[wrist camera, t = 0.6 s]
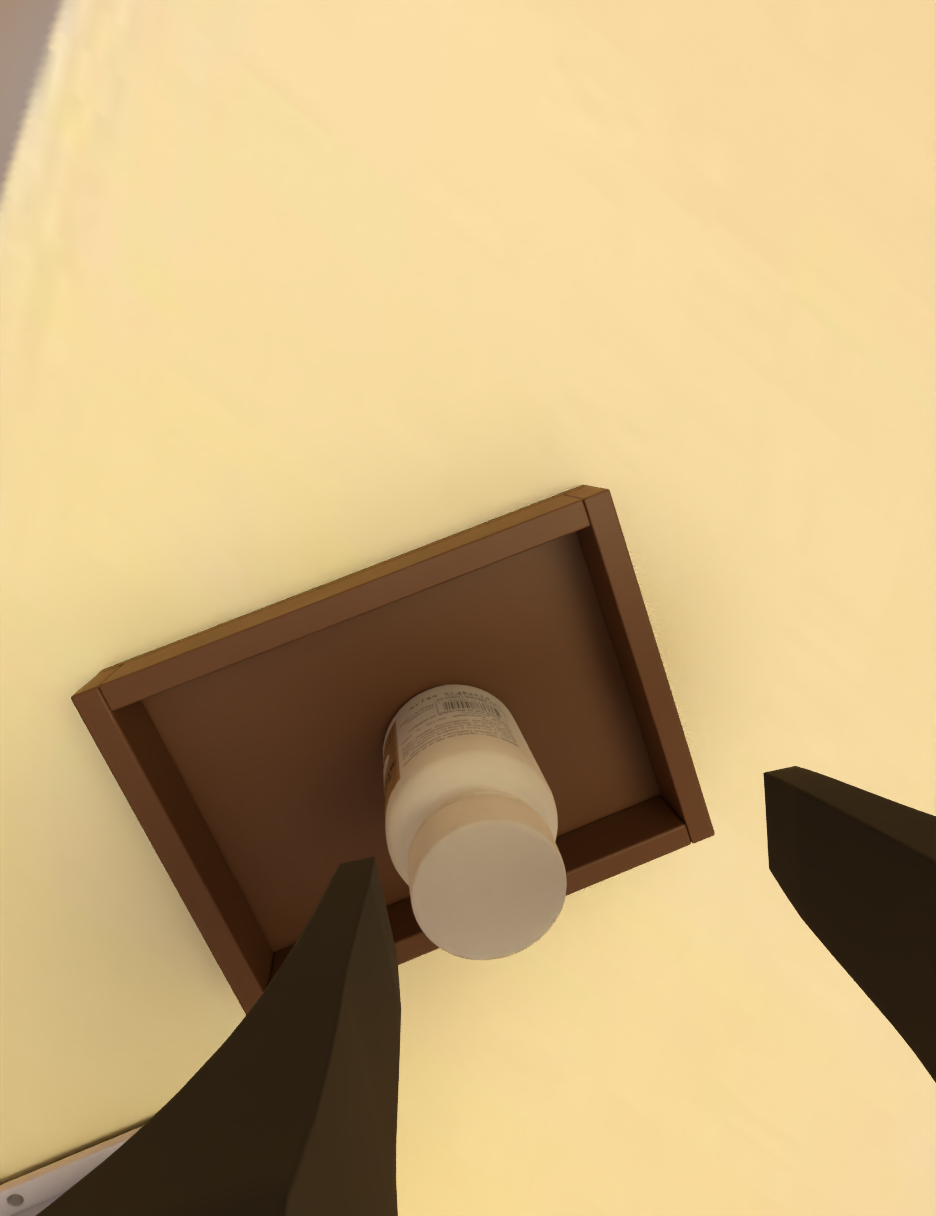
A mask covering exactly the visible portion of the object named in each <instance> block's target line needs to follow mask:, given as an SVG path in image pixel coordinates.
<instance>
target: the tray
mask: <svg viewBox="0 0 936 1216" xmlns="http://www.w3.org/2000/svg"><path fill="white" fill-rule="evenodd" d="M452 684H456V685H467V686H472V687H476V688H479V689H481V690H484V691H486V692H488V693H490V694H491V695H493V696H494V697H496V698H497V699H498V700H500V701H501V702H502V703H503V704H504V705H505V706H506V708H507V709H508V710H509V712H510V713H511V714H512V716H513V718H514V720H515V722H516V723H517V725H518V728H519V729H520V731H521V733H522V735H523V737H524V739H525V741H526V743H527V745H528V747H529V749H530V751H531V753H532V755H533V757H534V759H535V761H536V762H537V764H538V766H539V768H540V770H541V772H542V774H543V776H544V778H545V780H546V782H547V784H548V786H549V788H550V790H551V792H552V795H553V798H554V801H555V804H556V809H557V816H558V828H557V836H556V841H555V843H556V845H557V847H558V850H559V852H560V854H561V857H562V860H563V862H564V866H565V871H566V879H567V888H566V895H569V894H571V893H574V892H576V891H579V890H581V889H583V888H586V887H588V886H591V885H593V884H596V883H598V882H600V881H603V880H605V879H608V878H610V877H612V876H615V875H617V874H620V873H622V872H625V871H627V870H629V869H632V868H634V867H637V866H639V865H642V864H644V863H646V862H649V861H651V860H654V859H656V858H659V857H661V856H663V855H666V854H668V853H671V852H673V851H675V850H678V849H680V848H683V847H685V846H688V845H690V844H691V842H692V843H696V842H698V841H701V840H703V839H706V838H708V837H711V836H713V835H714V834H715V833H714V830H713V826H712V823H711V820H710V817H709V813H708V810H707V807H706V804H705V800H704V797H703V794H702V791H701V787H700V784H699V781H698V777H697V774H696V771H695V768H694V764H693V761H692V758H691V755H690V751H689V748H688V745H687V742H686V738H685V735H684V732H683V729H682V725H681V722H680V719H679V715H678V712H677V709H676V706H675V702H674V699H673V696H672V693H671V689H670V686H669V683H668V680H667V676H666V673H665V670H664V667H663V663H662V660H661V657H660V653H659V650H658V647H657V644H656V640H655V637H654V634H653V631H652V627H651V624H650V621H649V618H648V614H647V611H646V608H645V605H644V601H643V598H642V595H641V591H640V588H639V585H638V582H637V578H636V575H635V572H634V569H633V565H632V562H631V559H630V556H629V552H628V549H627V546H626V542H625V539H624V536H623V533H622V529H621V526H620V523H619V520H618V516H617V513H616V510H615V507H614V503H613V500H612V497H611V494H610V491H609V489H604V488H598V487H592V486H587V485H582V486H579V487H577V488H574V489H571V490H569V491H566V492H564V493H561V494H558V495H556V496H553V497H551V498H548V499H545V500H543V501H540V502H538V503H535V504H532V505H530V506H527V507H525V508H522V509H519V510H517V511H514V512H512V513H509V514H506V515H504V516H501V517H499V518H496V519H493V520H491V521H488V522H486V523H483V524H480V525H478V526H475V527H473V528H470V529H467V530H465V531H462V532H460V533H457V534H454V535H452V536H449V537H447V538H444V539H441V540H439V541H436V542H434V543H431V544H428V545H426V546H423V547H421V548H418V549H415V550H413V551H410V552H408V553H405V554H402V555H400V556H397V557H395V558H392V559H389V560H387V561H384V562H382V563H379V564H377V565H374V566H371V567H369V568H366V569H364V570H361V571H358V572H356V573H353V574H351V575H348V576H345V577H343V578H340V579H338V580H335V581H332V582H330V583H327V584H325V585H322V586H319V587H317V588H314V589H312V590H309V591H306V592H304V593H301V594H299V595H296V596H293V597H291V598H288V599H286V600H283V601H280V602H278V603H275V604H273V605H270V606H267V607H265V608H262V609H260V610H257V611H254V612H252V613H249V614H247V615H244V616H241V617H239V618H236V619H234V620H231V621H228V622H226V623H223V624H221V625H218V626H215V627H213V628H210V629H208V630H205V631H202V632H200V633H197V634H195V635H192V636H189V637H187V638H184V639H182V640H179V641H176V642H174V643H171V644H169V645H166V646H163V647H161V648H158V649H156V650H153V651H150V652H148V653H145V654H143V655H140V656H137V657H135V658H132V659H130V660H127V661H124V662H122V663H119V664H117V665H114V666H112V667H109V668H106V669H104V670H102V671H101V672H100V673H99V674H98V675H97V676H96V677H94V678H93V679H92V680H91V681H90V682H88V683H87V684H86V685H85V686H83V687H82V688H81V689H80V690H79V691H77V692H76V693H75V694H74V695H73V696H72V697H71V700H72V701H73V703H74V705H75V707H76V709H77V710H78V712H79V714H80V716H81V718H82V719H83V721H84V723H85V725H86V727H87V728H88V730H89V732H90V734H91V736H92V737H93V739H94V741H95V743H96V745H97V747H98V748H99V750H100V752H101V754H102V756H103V757H104V759H105V761H106V763H107V765H108V766H109V768H110V770H111V772H112V774H113V775H114V777H115V779H116V781H117V783H118V784H119V786H120V788H121V790H122V792H123V793H124V795H125V797H126V799H127V801H128V802H129V804H130V806H131V808H132V810H133V811H134V813H135V815H136V817H137V819H138V820H139V822H140V824H141V826H142V828H143V829H144V831H145V833H146V835H147V837H148V838H149V840H150V842H151V844H152V846H153V847H154V849H155V851H156V853H157V855H158V857H159V858H160V860H161V862H162V864H163V866H164V867H165V869H166V871H167V873H168V875H169V876H170V878H171V880H172V882H173V884H174V885H175V887H176V889H177V891H178V893H179V894H180V896H181V898H182V900H183V902H184V903H185V905H186V907H187V909H188V911H189V912H190V914H191V916H192V918H193V920H194V921H195V923H196V925H197V927H198V929H199V930H200V932H201V934H202V936H203V938H204V939H205V941H206V943H207V945H208V947H209V948H210V950H211V952H212V954H213V956H214V957H215V959H216V961H217V963H218V965H219V967H220V968H221V970H222V972H223V974H224V976H225V977H226V979H227V981H228V983H229V985H230V986H231V988H232V990H233V992H234V994H235V995H236V997H237V999H238V1001H239V1003H240V1004H241V1006H242V1008H243V1010H244V1012H245V1013H246V1015H247V1014H248V1013H249V1011H250V1010H251V1009H252V1007H253V1006H254V1005H255V1003H256V1002H257V1000H258V999H259V998H260V996H261V995H262V994H263V992H264V991H265V989H266V988H267V986H268V985H269V983H270V982H271V980H272V979H273V977H274V976H275V974H276V973H277V971H278V970H279V968H280V967H281V965H282V964H283V962H284V961H285V959H286V958H287V956H288V955H289V953H290V951H291V950H292V948H293V947H294V945H295V943H296V942H297V940H298V938H299V936H300V935H301V933H302V931H303V930H304V928H305V926H306V925H307V923H308V921H309V919H310V918H311V916H312V914H313V912H314V910H315V909H316V907H317V905H318V903H319V901H320V899H321V898H322V896H323V894H324V892H325V890H326V888H327V886H328V884H329V882H330V880H331V878H332V876H333V874H334V872H335V870H336V869H337V868H338V866H339V865H340V864H341V863H346V862H351V861H355V860H360V859H364V858H369V857H374V856H375V860H376V865H377V869H378V873H379V878H380V882H381V886H382V891H383V895H384V899H385V904H386V908H387V912H388V917H389V921H390V925H391V930H392V934H393V938H394V943H395V947H396V951H397V962H398V965H399V964H402V963H404V962H406V961H409V960H411V959H414V958H416V957H419V956H421V955H423V954H426V953H428V952H431V951H433V950H436V949H438V948H439V947H438V946H437V945H435V944H434V943H433V942H432V941H431V940H429V939H428V937H427V936H426V935H425V933H424V932H423V931H422V929H421V928H420V926H419V924H418V923H417V921H416V918H415V915H414V912H413V909H412V904H411V897H410V889H409V885H407V883H406V882H405V881H404V880H403V879H402V877H401V876H400V875H399V873H398V872H397V870H396V868H395V866H394V864H393V862H392V860H391V857H390V854H389V850H388V846H387V840H386V830H385V813H384V812H385V806H384V774H383V769H384V764H383V745H384V740H385V736H386V733H387V730H388V728H389V726H390V723H391V721H392V720H393V718H394V717H395V716H396V714H397V713H398V712H399V710H400V709H401V708H402V707H403V706H404V705H405V704H406V703H407V702H408V701H409V700H411V699H412V698H414V697H415V696H417V695H418V694H420V693H422V692H425V691H427V690H429V689H432V688H435V687H438V686H442V685H452Z"/></svg>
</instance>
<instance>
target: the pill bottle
mask: <svg viewBox="0 0 936 1216" xmlns="http://www.w3.org/2000/svg"><path fill="white" fill-rule="evenodd" d="M383 764H384V769H383V774H384V806H385V812H384V813H385V830H386V840H387V846H388V850H389V854H390V857H391V860H392V862H393V864H394V866H395V868H396V870H397V872H398V873H399V875H400V876H401V877H402V879H403V880H404V881H405V882H406V883H407V885H409V889H410V897H411V904H412V909H413V912H414V915H415V918H416V921H417V923H418V924H419V926H420V928H421V929H422V931H423V932H424V933H425V935H426V936H427V937H428V939H429V940H431V941H432V942H433V943H434V944H435V945H437V946H438V947H439V948H441V949H443V950H445V951H447V952H448V953H451V954H453V955H455V956H458V957H462V958H466V959H472V960H490V959H497V958H502V957H506V956H510V955H513V954H515V953H518V952H520V951H522V950H524V949H526V948H527V947H529V946H531V945H532V944H533V943H535V942H536V941H537V940H539V939H540V938H541V937H542V936H543V935H544V934H545V933H546V932H547V931H548V930H549V929H550V927H551V926H552V924H553V923H554V922H555V920H556V918H557V917H558V915H559V913H560V911H561V909H562V906H563V903H564V900H565V896H566V888H567V879H566V871H565V866H564V862H563V860H562V857H561V854H560V852H559V850H558V847H557V845H556V843H555V841H556V836H557V828H558V816H557V809H556V804H555V801H554V798H553V795H552V792H551V790H550V788H549V786H548V784H547V782H546V780H545V778H544V776H543V774H542V772H541V770H540V768H539V766H538V764H537V762H536V761H535V759H534V757H533V755H532V753H531V751H530V749H529V747H528V745H527V743H526V741H525V739H524V737H523V735H522V733H521V731H520V729H519V728H518V725H517V723H516V722H515V720H514V718H513V716H512V714H511V713H510V712H509V710H508V709H507V708H506V706H505V705H504V704H503V703H502V702H501V701H500V700H498V699H497V698H496V697H494V696H493V695H491V694H490V693H488V692H486V691H484V690H481V689H479V688H476V687H472V686H467V685H456V684H452V685H442V686H438V687H435V688H432V689H429V690H427V691H425V692H422V693H420V694H418V695H417V696H415V697H414V698H412V699H411V700H409V701H408V702H407V703H406V704H405V705H404V706H403V707H402V708H401V709H400V710H399V712H398V713H397V714H396V716H395V717H394V718H393V720H392V721H391V723H390V726H389V728H388V730H387V733H386V736H385V740H384V745H383Z"/></svg>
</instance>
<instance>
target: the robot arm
mask: <svg viewBox="0 0 936 1216" xmlns="http://www.w3.org/2000/svg"><path fill="white" fill-rule="evenodd" d="M764 787H765V804H766V822H767V839H768V856H769V869H770V871H771V872H772V874H773V875H774V877H775V879H776V880H777V882H778V883H779V885H780V887H781V888H782V890H783V891H784V893H785V895H786V896H787V898H788V899H789V901H790V902H791V903H792V905H793V906H794V908H795V909H796V911H797V912H798V914H799V915H800V917H801V918H802V919H803V921H804V922H805V923H806V924H807V925H808V927H809V928H810V929H811V930H812V931H813V933H814V934H815V935H816V936H817V937H818V939H819V940H820V941H821V942H822V943H823V944H824V946H825V947H826V948H827V949H828V950H829V952H830V953H831V954H832V955H833V956H834V957H835V959H836V960H837V961H838V962H839V963H840V964H841V966H842V967H843V968H844V969H845V970H846V971H847V973H848V974H849V975H850V976H851V977H852V978H853V980H854V981H855V982H856V983H857V984H858V985H859V987H860V988H861V989H862V990H863V991H864V992H865V994H866V995H867V996H868V997H869V998H870V999H871V1001H872V1002H873V1003H874V1004H875V1005H876V1006H877V1008H878V1009H879V1010H880V1011H881V1012H882V1013H883V1015H884V1016H885V1017H886V1018H887V1019H888V1020H889V1022H890V1023H891V1024H892V1025H893V1026H894V1028H895V1029H896V1030H897V1031H898V1033H899V1034H900V1035H901V1036H902V1038H903V1039H904V1040H905V1041H906V1043H907V1044H908V1045H909V1046H910V1048H911V1049H912V1050H913V1052H914V1053H915V1054H916V1056H917V1057H918V1058H919V1060H920V1061H921V1063H922V1064H923V1065H924V1067H925V1068H926V1070H927V1071H928V1072H929V1074H930V1075H931V1077H932V1078H933V1080H934V1081H935V1082H936V816H933V815H930V814H927V813H924V812H921V811H919V810H916V809H913V808H910V807H908V806H905V805H902V804H899V803H897V802H894V801H891V800H889V799H886V798H883V797H881V796H878V795H875V794H873V793H870V792H867V791H865V790H862V789H859V788H857V787H854V786H852V785H849V784H846V783H844V782H841V781H838V780H836V779H833V778H830V777H827V776H825V775H822V774H819V773H816V772H813V771H810V770H807V769H804V768H800V767H797V766H793V767H789V768H784V769H779V770H775V771H770V772H765V773H764ZM400 1026H401V1002H400V988H399V975H398V962H397V951H396V947H395V943H394V938H393V934H392V930H391V925H390V921H389V917H388V912H387V908H386V904H385V899H384V895H383V891H382V886H381V882H380V878H379V873H378V869H377V865H376V860H375V856H374V857H369V858H364V859H360V860H355V861H351V862H346V863H341V864H340V865H339V866H338V868H337V869H336V870H335V872H334V874H333V876H332V878H331V880H330V882H329V884H328V886H327V888H326V890H325V892H324V894H323V896H322V898H321V899H320V901H319V903H318V905H317V907H316V909H315V910H314V912H313V914H312V916H311V918H310V919H309V921H308V923H307V925H306V926H305V928H304V930H303V931H302V933H301V935H300V936H299V938H298V940H297V942H296V943H295V945H294V947H293V948H292V950H291V951H290V953H289V955H288V956H287V958H286V959H285V961H284V962H283V964H282V965H281V967H280V968H279V970H278V971H277V973H276V974H275V976H274V977H273V979H272V980H271V982H270V983H269V985H268V986H267V988H266V989H265V991H264V992H263V994H262V995H261V996H260V998H259V999H258V1000H257V1002H256V1003H255V1005H254V1006H253V1007H252V1009H251V1010H250V1011H249V1013H248V1014H247V1015H246V1017H245V1018H244V1019H243V1020H242V1022H241V1023H240V1024H239V1025H238V1027H237V1028H236V1029H235V1030H234V1032H233V1033H232V1034H231V1035H230V1036H229V1038H228V1039H227V1040H226V1041H225V1042H224V1043H223V1045H222V1046H221V1047H220V1048H219V1049H218V1050H217V1051H216V1052H215V1053H214V1054H213V1056H212V1057H211V1058H210V1059H209V1060H208V1061H207V1062H206V1063H205V1064H204V1065H203V1066H202V1067H201V1068H200V1070H199V1071H198V1072H197V1073H196V1074H195V1075H194V1076H193V1077H192V1078H191V1079H190V1080H189V1081H188V1082H187V1084H186V1085H185V1086H184V1087H183V1088H182V1089H181V1090H180V1091H179V1092H178V1093H177V1094H176V1095H175V1096H174V1097H173V1098H172V1099H171V1100H170V1101H169V1102H168V1103H167V1104H166V1105H165V1106H164V1107H163V1108H162V1109H161V1110H160V1111H159V1112H158V1113H156V1114H155V1115H154V1116H153V1117H152V1118H151V1119H150V1120H149V1121H148V1122H147V1123H146V1124H145V1125H143V1126H141V1127H139V1128H136V1129H134V1130H131V1131H129V1132H127V1133H124V1134H122V1135H119V1136H117V1137H115V1138H112V1139H110V1140H107V1141H105V1142H103V1143H100V1144H98V1145H95V1146H93V1147H91V1148H88V1149H86V1150H83V1151H81V1152H78V1153H76V1154H74V1155H71V1156H69V1157H66V1158H64V1159H62V1160H59V1161H57V1162H54V1163H52V1164H50V1165H47V1166H45V1167H42V1168H40V1169H38V1170H35V1171H33V1172H30V1173H28V1174H26V1175H23V1176H21V1177H18V1178H16V1179H14V1180H11V1181H9V1182H6V1183H4V1184H2V1185H0V1216H398V1211H397V1190H396V1133H397V1107H398V1081H399V1055H400Z"/></svg>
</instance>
